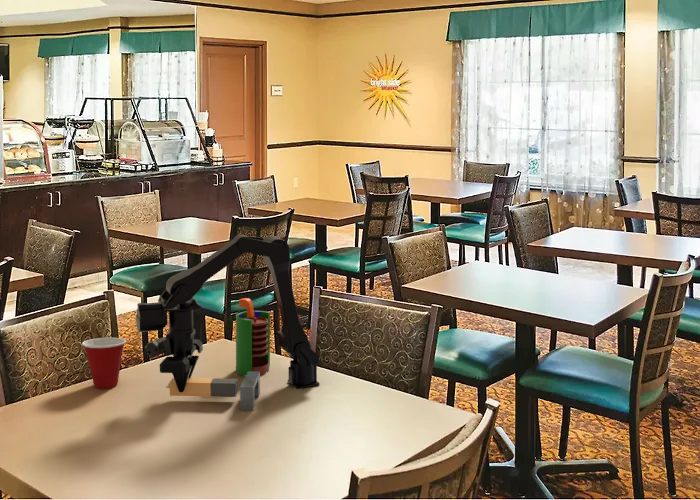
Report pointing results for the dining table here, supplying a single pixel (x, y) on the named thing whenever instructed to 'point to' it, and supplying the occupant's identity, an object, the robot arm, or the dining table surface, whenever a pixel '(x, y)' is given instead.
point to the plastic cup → (104, 360)
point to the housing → (249, 390)
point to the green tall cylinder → (252, 339)
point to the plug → (206, 387)
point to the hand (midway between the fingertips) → (183, 389)
